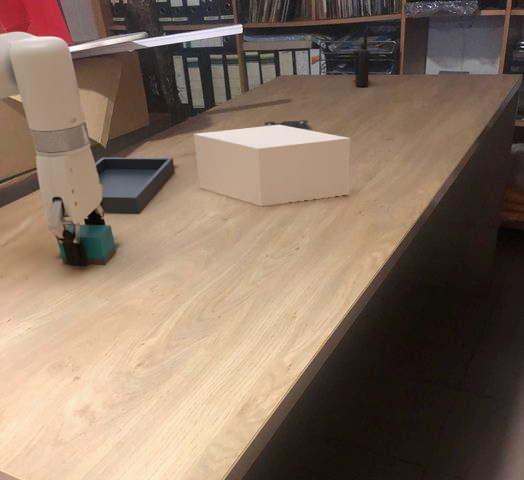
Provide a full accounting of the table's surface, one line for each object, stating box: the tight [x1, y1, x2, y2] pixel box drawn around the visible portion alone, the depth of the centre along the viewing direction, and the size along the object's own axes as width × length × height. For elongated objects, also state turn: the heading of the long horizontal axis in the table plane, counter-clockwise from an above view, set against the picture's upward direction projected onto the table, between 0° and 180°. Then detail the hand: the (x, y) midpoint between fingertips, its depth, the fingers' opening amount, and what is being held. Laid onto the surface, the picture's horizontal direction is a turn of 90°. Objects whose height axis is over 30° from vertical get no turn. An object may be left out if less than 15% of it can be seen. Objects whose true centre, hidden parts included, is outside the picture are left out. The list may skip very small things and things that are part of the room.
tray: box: [95, 157, 176, 215], centre depth 116 cm, size 22×16×3 cm
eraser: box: [56, 224, 117, 266], centre depth 92 cm, size 7×4×4 cm, turn 80°
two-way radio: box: [352, 29, 371, 88], centre depth 174 cm, size 6×4×15 cm
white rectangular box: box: [193, 125, 351, 207], centre depth 109 cm, size 14×29×10 cm, turn 75°
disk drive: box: [263, 120, 309, 130], centre depth 136 cm, size 10×3×15 cm
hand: (89, 252), depth 93 cm, fingers open, 7 cm apart
